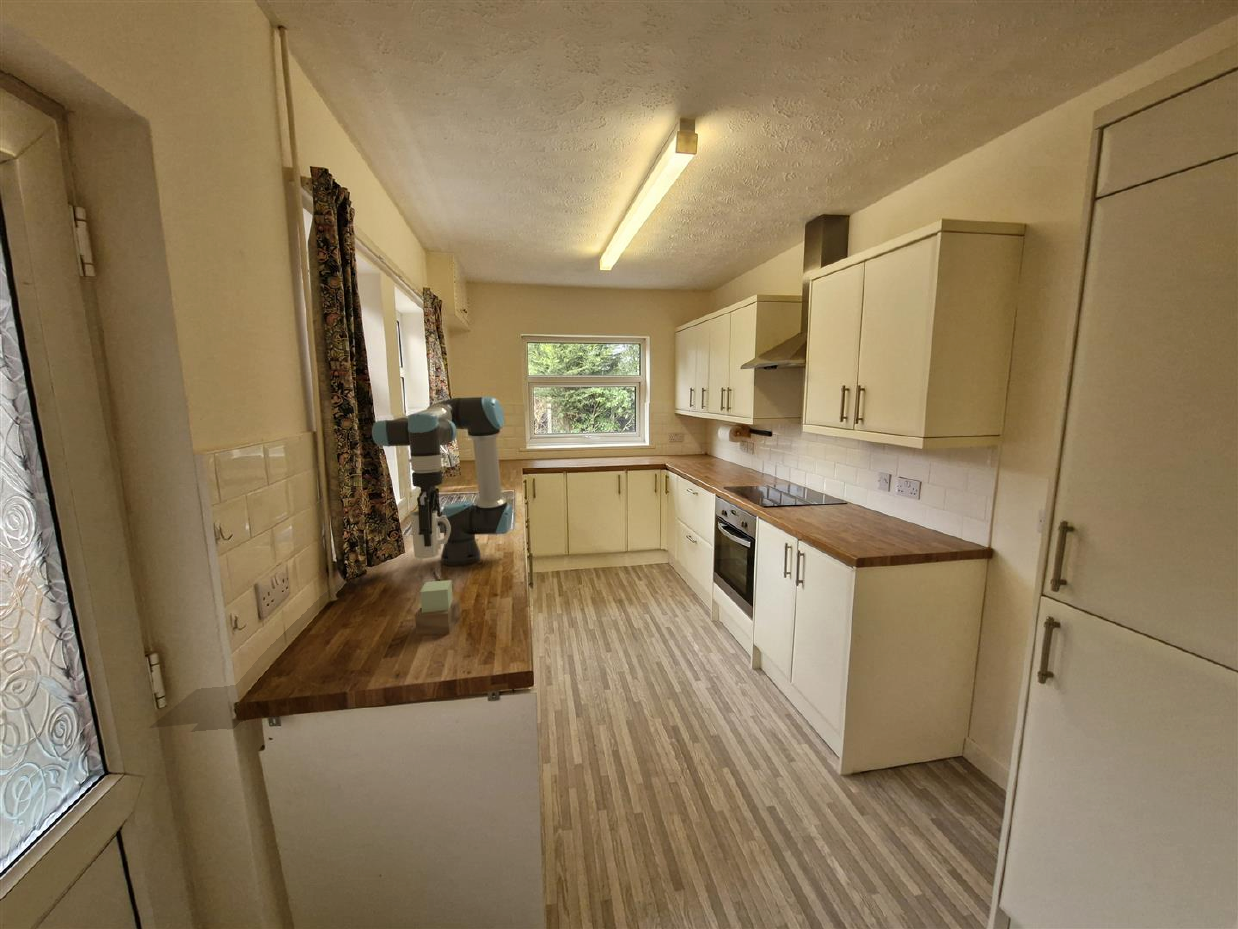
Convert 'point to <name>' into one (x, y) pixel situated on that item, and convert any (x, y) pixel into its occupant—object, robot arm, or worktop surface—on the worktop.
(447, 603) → the sage brick
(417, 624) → the base brick
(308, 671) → the worktop surface
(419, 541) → the mug
